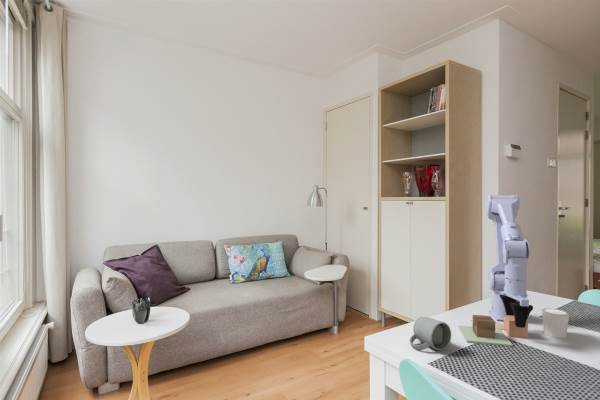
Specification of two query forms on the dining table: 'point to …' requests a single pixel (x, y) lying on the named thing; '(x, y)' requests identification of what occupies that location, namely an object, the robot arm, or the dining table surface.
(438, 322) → the ceramic mug
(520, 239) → the robot arm
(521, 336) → the terracotta block
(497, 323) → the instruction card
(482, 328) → the walnut block
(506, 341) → the plate
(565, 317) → the white cup
